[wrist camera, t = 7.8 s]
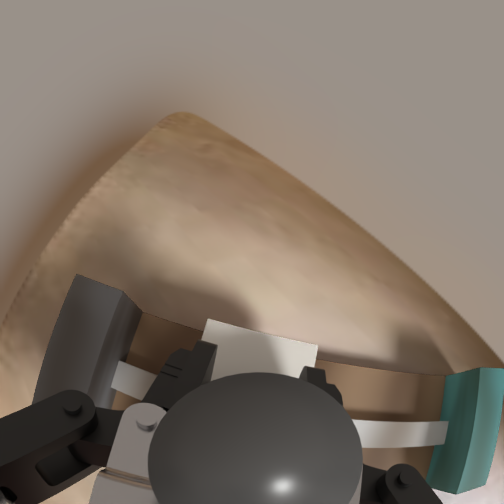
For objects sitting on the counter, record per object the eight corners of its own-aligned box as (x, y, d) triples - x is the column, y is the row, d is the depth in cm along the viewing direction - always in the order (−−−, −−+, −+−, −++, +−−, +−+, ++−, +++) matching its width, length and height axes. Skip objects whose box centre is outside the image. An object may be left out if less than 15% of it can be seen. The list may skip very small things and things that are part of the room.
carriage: (307, 351, 14) (427, 269, 5) (269, 495, 10) (331, 619, 1) (211, 328, 14) (177, 204, 5) (169, 471, 10) (74, 570, 1)
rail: (459, 380, 16) (505, 368, 11) (441, 477, 12) (485, 484, 7) (110, 304, 17) (76, 273, 13) (75, 412, 13) (30, 412, 9)
